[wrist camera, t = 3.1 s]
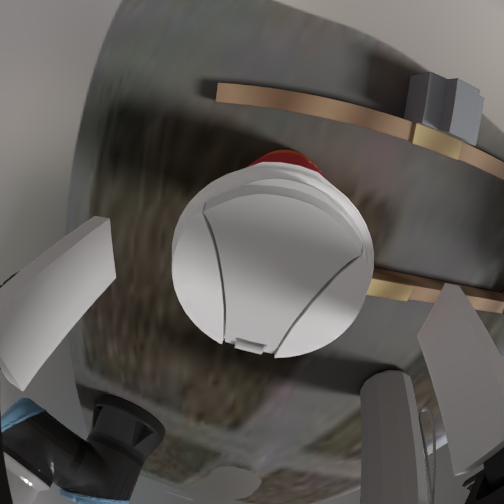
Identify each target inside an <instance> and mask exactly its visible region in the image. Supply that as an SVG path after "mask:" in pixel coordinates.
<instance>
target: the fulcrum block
mask: <svg viewBox="0 0 504 504" xmlns="http://www.w3.org/2000/svg"><path fill="white" fill-rule="evenodd" d="M479 93H480V90H479V89H477V88H475V87H474V86H472V85H470V84H468V83H466V82H464V81H462V80H460V79H458V78H456V79H446V78H444V77H442V76H439V75H437V74H435V73H432V72H426V73H422V74H417V75H413V76H410V82H409V89H408V95H407V101H406V107H405V113H404V118H403V119H405V120H408V121H411V122H414V123H417V124H420V125H423V126H425V127H428V128H431V129H433V130H436V131H438V132H441V133H443V134H446V135H448V136H450V137H453V138H455V139H457V140H460V141H462V142H464V143H467V144H470V145H473V146H476V142H477V137H478V132H479V127H480V121H481V115H482V108H483V101H484V98H483V97H481V96H480V95H479Z"/></svg>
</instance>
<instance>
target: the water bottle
mask: <svg viewBox="0 0 504 504" xmlns="http://www.w3.org/2000/svg"><path fill="white" fill-rule="evenodd" d="M360 400H361V429H362V469H361V497H360V504H427V486H426V473H425V463H424V454H425V461H426V467H427V475H428V483H429V492H430V504H434V498H435V477H436V440H435V422H434V418H433V415H432V412H431V410H430V408H429V406H427V407H422V409H421V411H420V413H419V418H418V412H417V407H416V401H415V396H414V391H413V386H412V381H411V377H410V376H408V375H407V374H405V373H404V372H402V371H399V370H387V371H383V372H380V373H376V374H375V375H373V376H372V377H370V378H369V379H367V380H366V381H365V383H364V385H363V386H362V388H361V390H360ZM425 410H427V412H428V414H429V416H430V420H431V423H432V434H433V490H432V486H431V478H430V468H429V461H428V454H427V447H426V441H425V435H424V430H423V424H422V419H421V413H422V412H423V411H425ZM421 436H422V438H421ZM422 442H423V445H422ZM423 448H424V453H423Z"/></svg>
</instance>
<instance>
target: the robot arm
mask: <svg viewBox="0 0 504 504" xmlns="http://www.w3.org/2000/svg"><path fill="white" fill-rule="evenodd" d="M115 278H116V273H115V265H114V257H113V249H112V239H111V228H110V219H109V218H104V217H98V216H94V217H92V218H91V219H90V220H88V221H87V222H85V223H84V224H82V225H81V226H79V227H78V228H76V229H75V230H74V231H72V232H71V233H69V234H68V235H67V236H65V237H64V238H62V239H61V240H60V241H58V242H57V243H56V244H54V245H53V246H52V247H50V248H49V249H48V250H46V251H45V252H44V253H42V254H41V255H40V256H38V257H37V258H36V259H35V260H33V261H32V262H31V263H30V264H28V265H27V266H26V267H25V268H23V269H22V270H21V271H20V272H18V273H16V274H14V275H12V276H11V277H10V278H9V279H7V280H6V281H5V282H4V283H3V285H0V369H1V371H2V372H3V374H4V375H5V377H6V378H7V380H8V381H9V382H11V383H12V384H13V385H15V386H16V387H18V388H19V389H20V390H22V391H24V389H25V388H26V386H27V385H28V384H29V382H30V381H31V380H32V378H33V377H34V376H35V374H36V373H37V372H38V370H39V369H40V367H41V366H42V365H43V364H44V362H45V361H46V360H47V358H48V357H49V356H50V355H51V353H52V352H53V351H54V349H55V348H56V347H57V346H58V344H59V343H60V342H61V341H62V339H63V338H64V337H65V336H66V335H67V333H68V332H69V331H70V330H71V329H72V327H73V326H74V325H75V324H76V323H77V321H78V320H79V319H80V318H81V317H82V316H83V314H84V313H85V312H86V311H87V310H88V309H89V307H90V306H91V305H92V304H93V303H94V302H95V301H96V299H97V298H98V297H99V296H100V295H101V294H102V293H103V292H104V290H105V289H106V288H107V287H108V286H109V285H110V284H111V283H112V282H113V281H114V279H115ZM417 338H418V341H419V344H420V346H421V349H422V352H423V355H424V358H425V361H426V364H427V367H428V370H429V373H430V377H431V380H432V383H433V386H434V390H435V393H436V397H437V400H438V404H439V408H440V411H441V415H442V419H443V423H444V428H445V432H446V436H447V441H448V445H449V450H450V455H451V461H452V466H453V472H454V476H456V475H460V474H464V473H468V472H471V471H472V470H474V469H475V468H477V467H478V466H480V465H481V464H482V463H483V464H484V469H483V470H481V471H480V472H478V473H477V474H475V475H474V476H472V477H471V478H469V479H468V480H466V481H465V482H464V484H463V486H464V487H465V486H466V485H468V484H470V483H471V482H473V481H475V482H474V483H473V484H472V485H470V486H469V487H468V488H467V489H469V490H470V493H469V496H468V498H467V500H466V502H465V504H504V361H503V359H502V357H501V355H500V353H499V352H498V350H497V348H496V346H495V344H494V342H493V340H492V339H491V337H490V335H489V333H488V331H487V330H486V328H485V326H484V325H483V323H482V321H481V319H480V318H479V316H478V315H477V313H476V311H475V310H474V308H473V306H472V305H471V303H470V302H469V300H468V299H467V297H466V296H465V294H464V292H463V291H462V289H461V288H460V286H458V285H453V284H448V283H445V284H444V286H443V288H442V290H441V292H440V294H439V296H438V298H437V300H436V302H435V304H434V306H433V308H432V310H431V311H430V313H429V315H428V317H427V319H426V320H425V322H424V324H423V326H422V327H421V329H420V331H419V333H418V334H417ZM0 415H1V414H0ZM164 435H165V429H164V427H163V425H162V424H161V423H160V422H159V421H158V420H157V419H156V418H155V417H153V416H152V415H151V414H149V413H148V412H146V411H145V410H143V409H141V408H140V407H138V406H136V405H134V404H132V403H130V402H128V401H125V400H123V399H120V398H117V397H113V396H101V397H99V399H98V401H97V402H96V404H95V406H94V411H93V418H92V425H91V431H90V434H89V436H88V438H87V440H86V441H85V440H83V439H82V438H80V437H79V436H78V435H76V434H75V433H74V432H72V431H71V430H69V429H68V428H66V427H65V426H64V425H63V424H61V423H60V422H59V421H57V420H56V419H55V418H54V417H52V416H51V415H50V414H49V413H48V412H47V411H46V410H45V409H43V408H41V407H40V406H39V405H37V404H36V403H35V402H34V401H32V400H31V399H29V398H21V399H19V400H18V401H17V402H15V403H14V404H13V405H12V406H11V407H10V408H9V409H8V410H7V411H6V412H5V413H4V414H3V415H2V416H0V504H32V503H33V501H34V499H35V497H36V495H37V492H39V491H42V490H49V489H50V487H51V484H52V483H54V484H56V485H57V486H59V487H60V488H62V489H60V494H61V495H62V496H63V497H65V498H67V499H69V500H71V501H74V502H76V503H78V504H128V503H129V502H130V498H131V495H132V492H133V490H134V487H135V484H136V482H137V479H138V477H139V474H140V471H141V469H142V466H143V464H144V461H145V460H146V459H147V457H148V456H149V455H150V454H151V453H152V452H153V451H154V450H155V449H156V448H157V447H158V446H159V444H160V443H161V442H162V440H163V438H164Z"/></svg>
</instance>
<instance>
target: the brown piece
mask: <svg viewBox="0 0 504 504" xmlns="http://www.w3.org/2000/svg"><path fill="white" fill-rule="evenodd" d="M216 102H224V103H234V104H244V105H252V106H260V107H267V108H274V109H280V110H286V111H292V112H298V113H303V114H309V115H314V116H319V117H323V118H328V119H332V120H337V121H341V122H345V123H349V124H353V125H357V126H361V127H365V128H369V129H372V130H376V131H379V132H383V133H386V134H389V135H393V136H396V137H399V138H402V139H405V140H408V141H411V143H413V144H416V145H419V146H422V147H425V148H428V149H430V150H433V151H436V152H438V153H441V154H444V155H446V156H449V157H451V158H454V159H456V160H458V159H459V160H462V161H464V162H466V163H469V164H471V165H473V166H475V167H478V168H480V169H482V170H484V171H486V172H488V173H490V174H492V175H495V176H497V177H499V178H501V179H503V180H504V162H502V161H500V160H498V159H496V158H494V157H493V156H491V155H489V154H487V153H485V152H483V151H481V150H479V149H476V148H474V147H472V146H470V145H468V144H466V143H463V142H462V141H460V140H457V139H455V138H453V137H450V136H448V135H446V134H443V133H441V132H438V131H436V130H433V129H431V128H428V127H425V126H423V125H420V124H417V123H414V122H411V121H408V120H405V119H402V118H399V117H396V116H393V115H390V114H386V113H383V112H380V111H376V110H373V109H369V108H366V107H362V106H358V105H354V104H351V103H346V102H342V101H338V100H334V99H329V98H325V97H320V96H315V95H310V94H305V93H299V92H293V91H287V90H281V89H274V88H267V87H259V86H250V85H240V84H229V83H218V87H217V95H216ZM445 283H448V284H453V285H458V286H460V288H461V289H462V291H463V292H464V294H465V296H466V297H467V299H468V300H469V302H470V303H471V305H472V306H473V308H474V309H476V310H483V311H489V312H496V313H503V314H504V290H503V292H502V293H498V292H493V291H488V290H483V289H479V288H474V287H469V286H464V285H459V284H454V283H449V282H444V281H439V280H434V279H429V278H424V277H419V276H414V275H409V274H404V273H399V272H393V271H388V270H383V269H378V268H374V270H373V275H372V279H371V283H370V286H369V288H368V291H367V293H366V295H371V296H377V297H383V298H389V299H395V300H402V301H407V300H408V299H412V300H418V301H424V302H430V303H435V302H436V300H437V298H438V296H439V294H440V292H441V290H442V288H443V286H444V284H445Z"/></svg>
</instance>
